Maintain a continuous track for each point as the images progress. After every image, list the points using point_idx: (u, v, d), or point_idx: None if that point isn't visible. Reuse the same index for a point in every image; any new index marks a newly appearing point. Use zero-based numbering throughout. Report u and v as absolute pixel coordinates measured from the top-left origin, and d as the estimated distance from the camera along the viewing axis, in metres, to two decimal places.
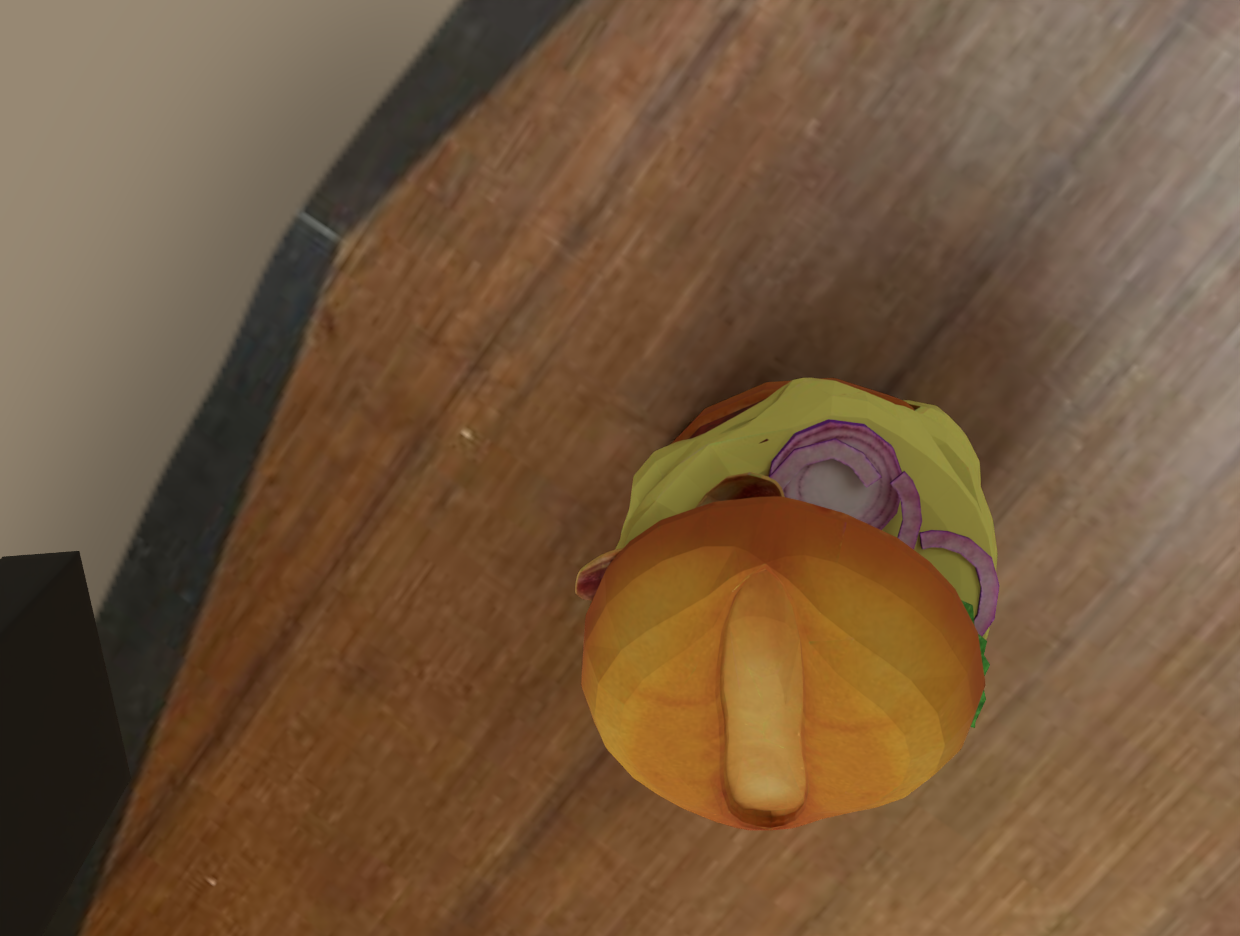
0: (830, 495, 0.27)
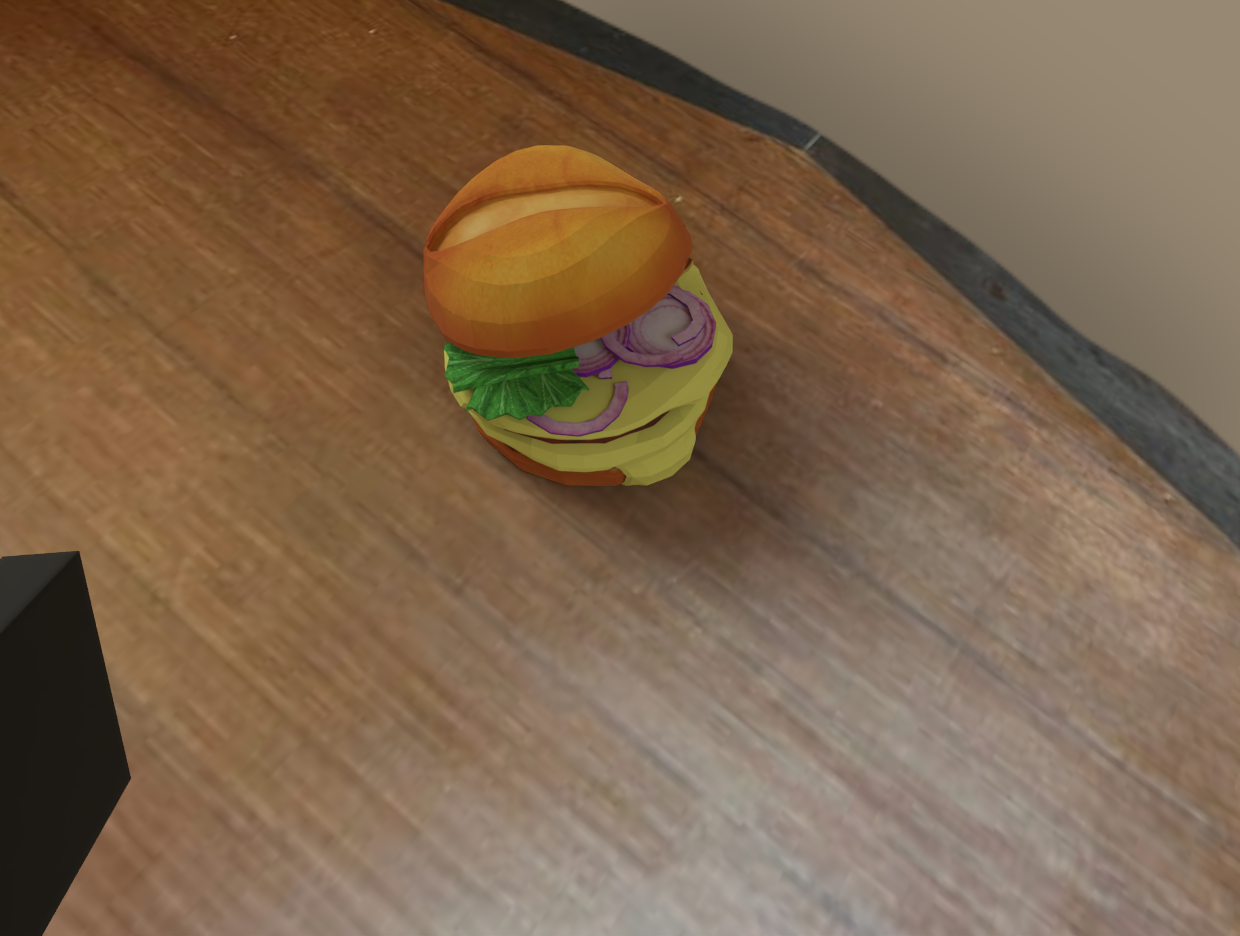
0: (663, 323, 0.38)
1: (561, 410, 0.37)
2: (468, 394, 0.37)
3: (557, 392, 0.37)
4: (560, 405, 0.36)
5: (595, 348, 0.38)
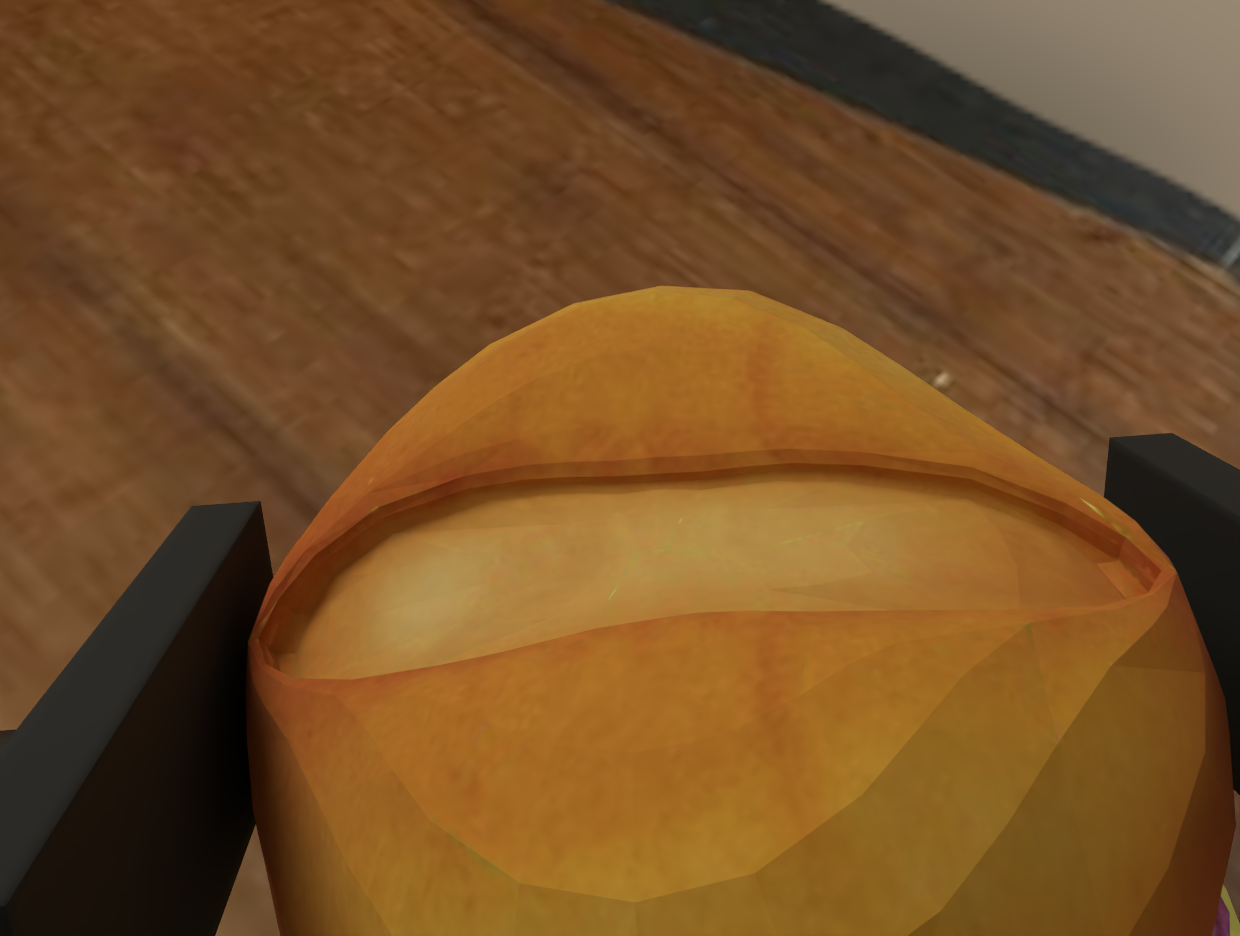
0: None
1: None
2: None
3: None
4: None
5: None
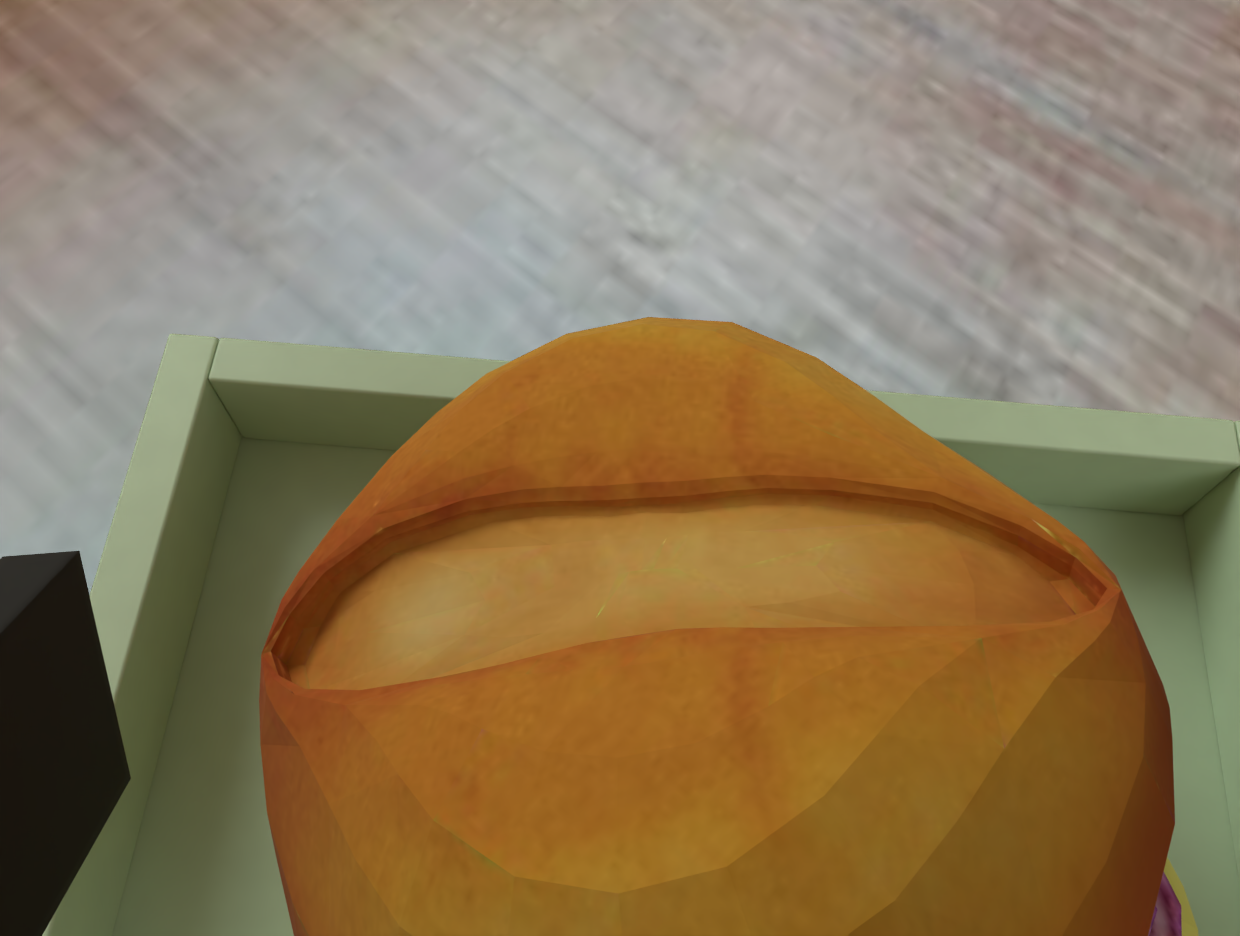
0: None
1: None
2: None
3: None
4: None
5: None
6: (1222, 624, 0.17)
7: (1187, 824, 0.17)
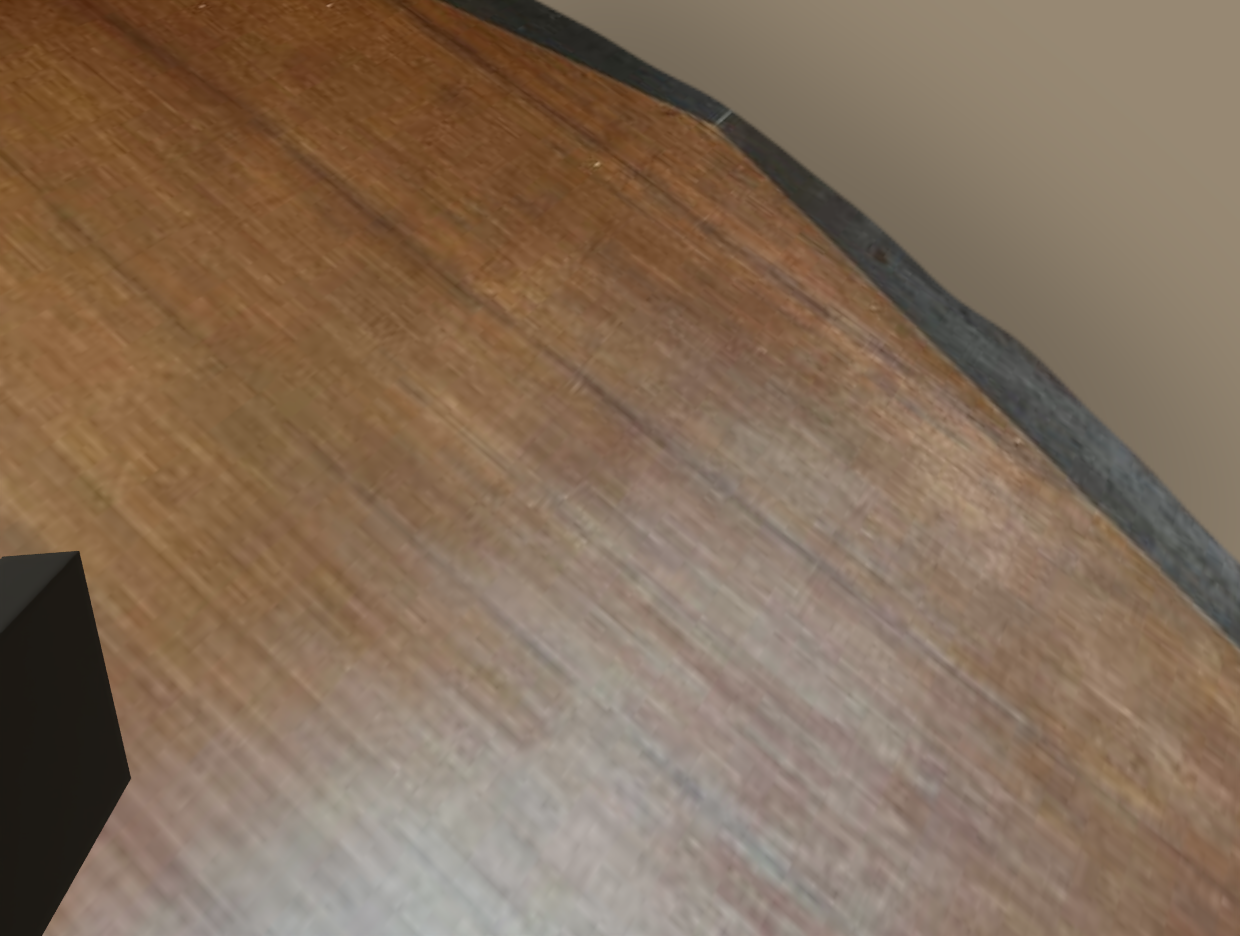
0: None
1: None
2: None
3: None
4: None
5: None
6: None
7: None
